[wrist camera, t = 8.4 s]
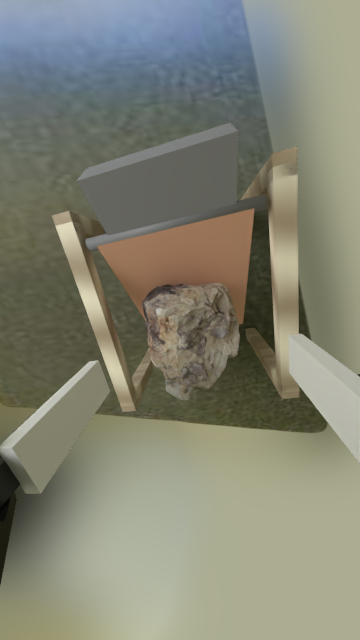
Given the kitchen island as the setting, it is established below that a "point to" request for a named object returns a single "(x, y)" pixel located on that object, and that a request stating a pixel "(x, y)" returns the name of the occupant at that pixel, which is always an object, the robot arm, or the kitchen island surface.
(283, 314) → the frame
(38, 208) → the kitchen island surface
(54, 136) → the kitchen island surface
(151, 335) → the rock
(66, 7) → the kitchen island surface
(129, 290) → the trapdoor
